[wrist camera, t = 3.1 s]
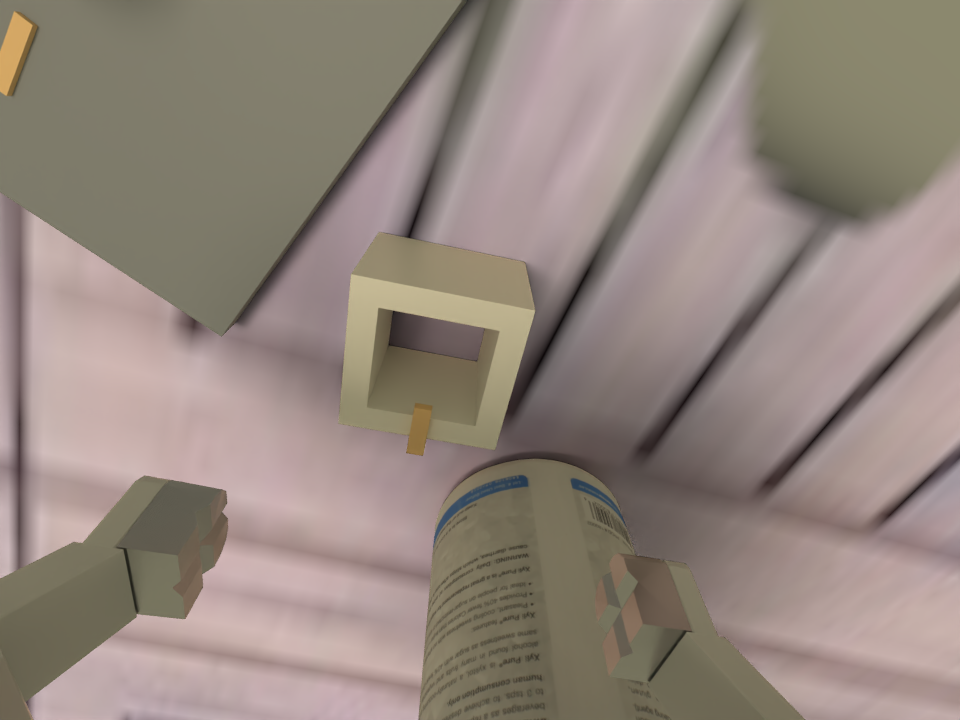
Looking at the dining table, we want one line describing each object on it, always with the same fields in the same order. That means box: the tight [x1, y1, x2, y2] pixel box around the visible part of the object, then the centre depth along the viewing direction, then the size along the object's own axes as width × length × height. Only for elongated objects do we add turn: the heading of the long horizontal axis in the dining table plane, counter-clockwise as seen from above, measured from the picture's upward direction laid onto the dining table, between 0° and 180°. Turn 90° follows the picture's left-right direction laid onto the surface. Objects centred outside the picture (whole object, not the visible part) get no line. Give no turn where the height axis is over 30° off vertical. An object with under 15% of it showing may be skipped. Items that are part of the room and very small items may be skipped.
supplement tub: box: [418, 459, 671, 720], centre depth 20 cm, size 10×10×15 cm
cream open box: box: [338, 232, 535, 456], centre depth 18 cm, size 6×6×5 cm
